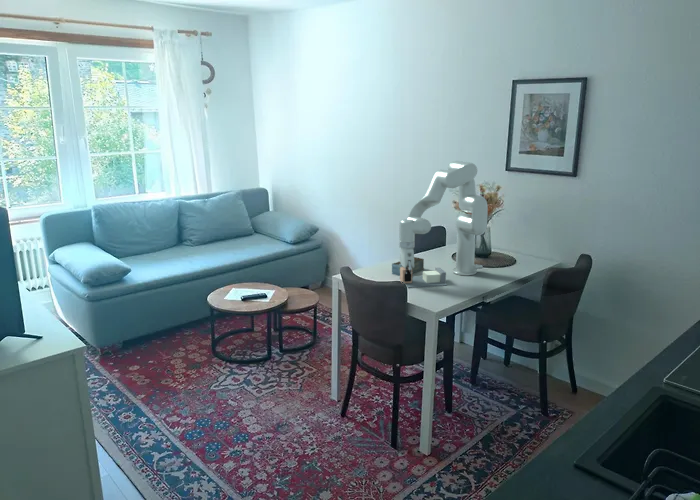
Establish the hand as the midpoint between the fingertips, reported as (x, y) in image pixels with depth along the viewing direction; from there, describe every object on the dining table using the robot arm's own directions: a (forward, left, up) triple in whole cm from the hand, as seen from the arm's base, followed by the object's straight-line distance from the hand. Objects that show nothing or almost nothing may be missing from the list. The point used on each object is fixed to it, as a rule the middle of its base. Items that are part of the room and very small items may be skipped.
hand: (406, 279), depth 268 cm
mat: (-9, 0, -2) cm, 9 cm away
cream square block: (-14, 0, -2) cm, 14 cm away
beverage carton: (-6, -20, -3) cm, 21 cm away
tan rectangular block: (0, 0, -2) cm, 2 cm away
